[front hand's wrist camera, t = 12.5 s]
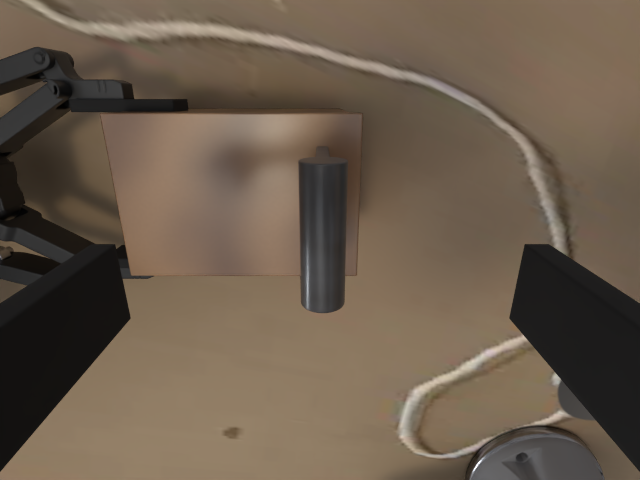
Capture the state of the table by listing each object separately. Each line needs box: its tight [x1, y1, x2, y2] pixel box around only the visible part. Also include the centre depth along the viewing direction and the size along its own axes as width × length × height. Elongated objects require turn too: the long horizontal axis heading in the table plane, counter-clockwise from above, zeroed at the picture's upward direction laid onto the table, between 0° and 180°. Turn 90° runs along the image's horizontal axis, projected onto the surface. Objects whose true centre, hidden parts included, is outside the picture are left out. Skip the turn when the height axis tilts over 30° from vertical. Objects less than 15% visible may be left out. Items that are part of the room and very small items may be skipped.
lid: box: [100, 112, 363, 313], centre depth 20 cm, size 15×10×9 cm
